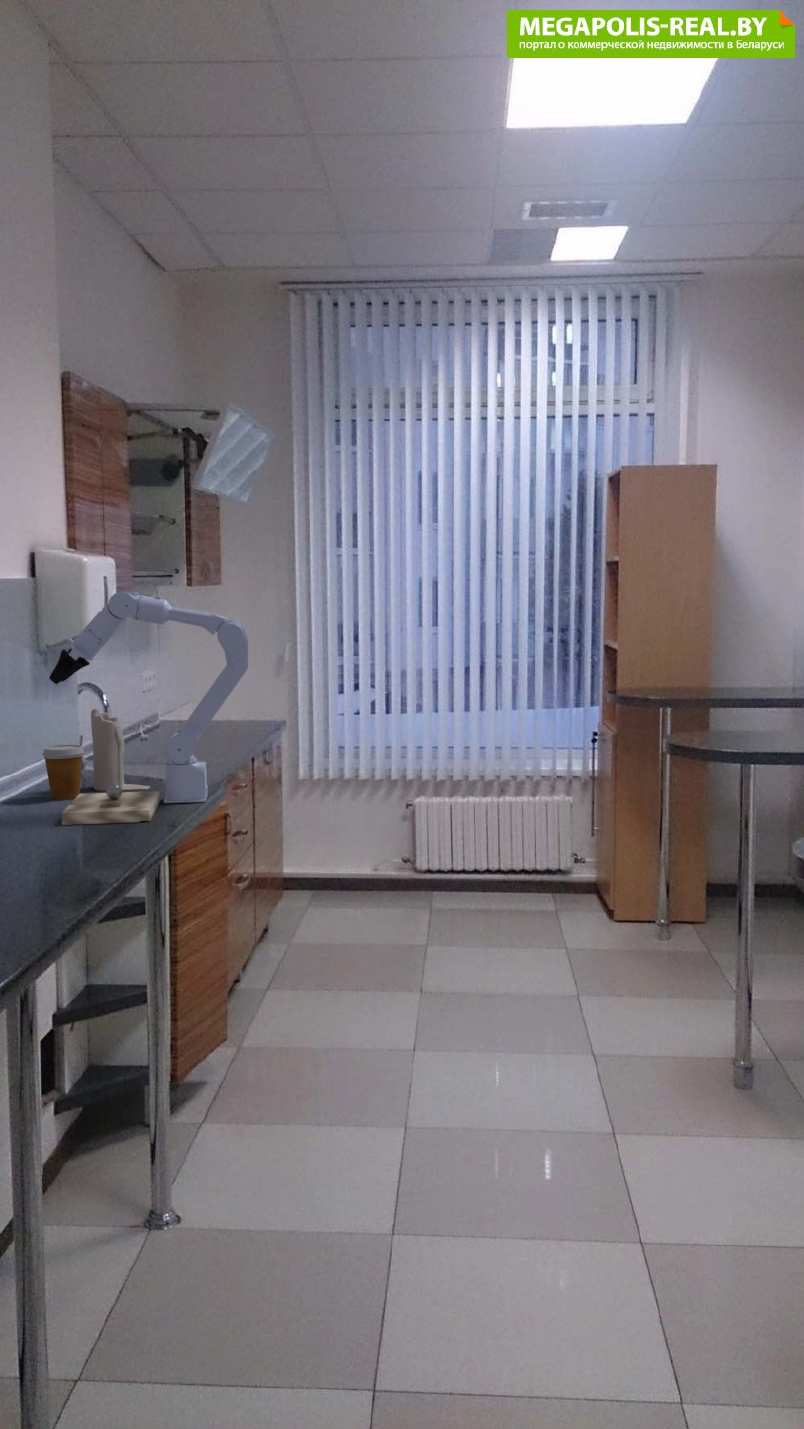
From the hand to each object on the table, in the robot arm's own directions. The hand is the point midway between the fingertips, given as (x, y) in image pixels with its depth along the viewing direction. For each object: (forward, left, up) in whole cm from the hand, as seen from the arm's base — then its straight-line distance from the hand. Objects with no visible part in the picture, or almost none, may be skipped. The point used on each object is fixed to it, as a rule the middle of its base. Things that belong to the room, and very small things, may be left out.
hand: (55, 680), depth 257 cm
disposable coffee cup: (+1, -10, -29) cm, 31 cm away
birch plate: (-13, +11, -29) cm, 33 cm away
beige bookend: (-11, -20, -29) cm, 37 cm away
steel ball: (-13, +9, -24) cm, 29 cm away
